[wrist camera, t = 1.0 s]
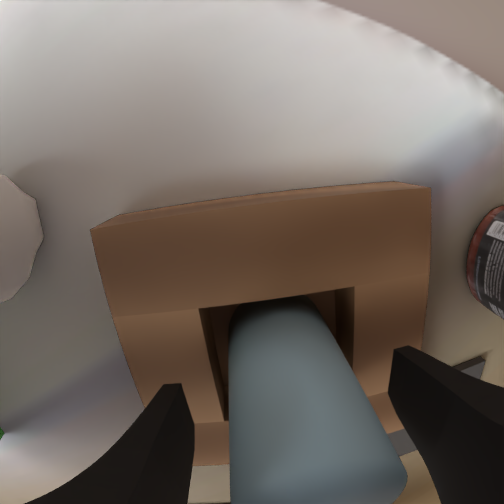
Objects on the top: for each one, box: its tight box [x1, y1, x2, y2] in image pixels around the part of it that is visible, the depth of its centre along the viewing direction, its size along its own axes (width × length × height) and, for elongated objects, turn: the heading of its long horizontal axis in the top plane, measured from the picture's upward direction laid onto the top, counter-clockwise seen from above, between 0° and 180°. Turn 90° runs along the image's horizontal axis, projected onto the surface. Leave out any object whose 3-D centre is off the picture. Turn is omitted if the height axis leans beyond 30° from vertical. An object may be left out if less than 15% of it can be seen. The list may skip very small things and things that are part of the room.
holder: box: [90, 181, 431, 466], centre depth 13 cm, size 12×12×3 cm
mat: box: [387, 356, 485, 456], centre depth 17 cm, size 7×7×1 cm
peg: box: [228, 295, 407, 504], centre depth 10 cm, size 4×4×9 cm
